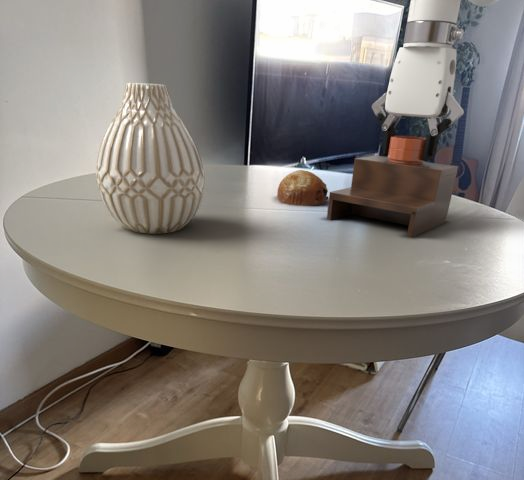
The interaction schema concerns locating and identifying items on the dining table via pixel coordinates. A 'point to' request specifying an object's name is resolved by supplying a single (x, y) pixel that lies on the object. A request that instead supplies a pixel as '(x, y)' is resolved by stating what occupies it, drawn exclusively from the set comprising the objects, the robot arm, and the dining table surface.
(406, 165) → the shelf
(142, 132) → the vase
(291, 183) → the bread roll
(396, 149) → the bowl
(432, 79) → the robot arm
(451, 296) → the dining table surface
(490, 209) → the dining table surface
